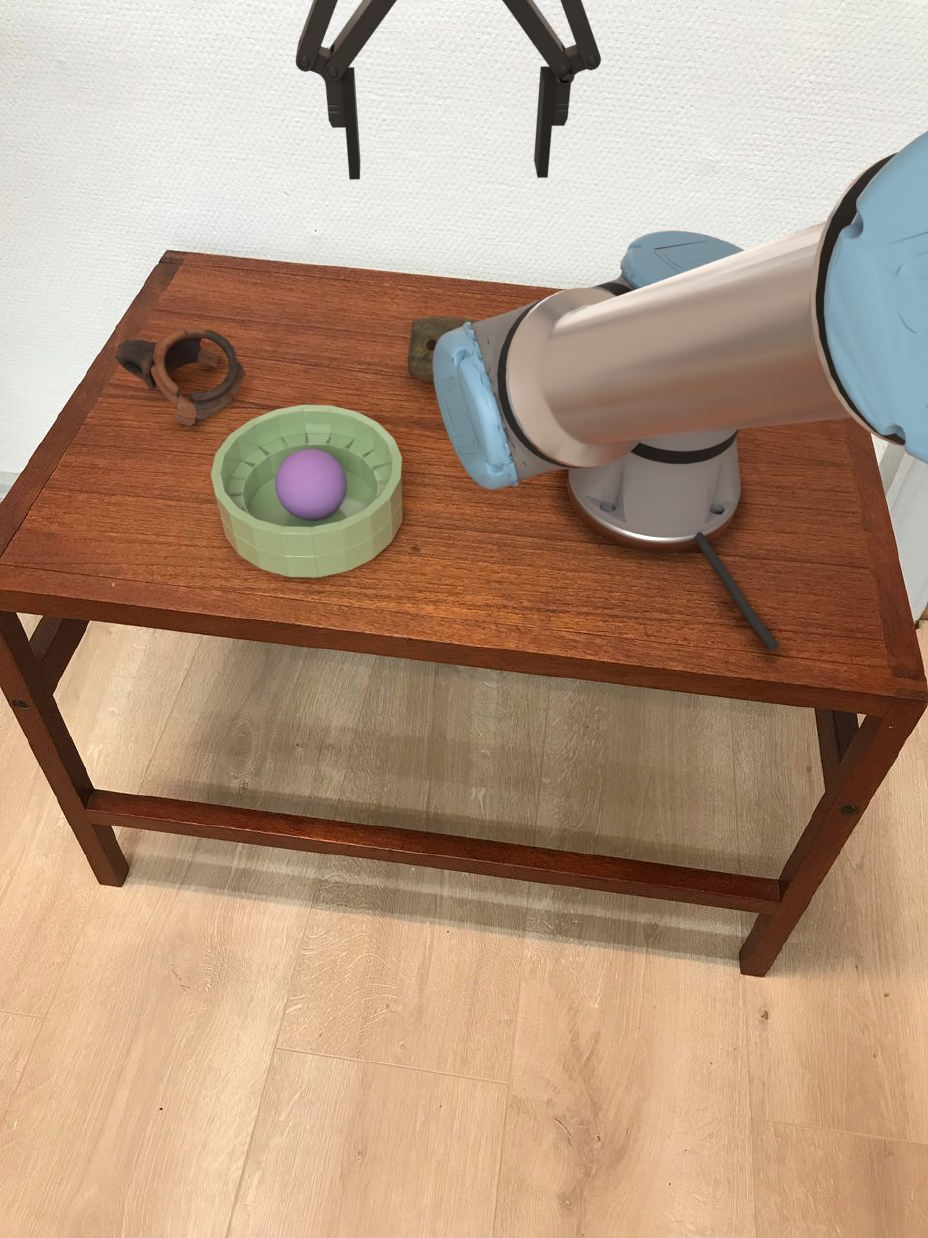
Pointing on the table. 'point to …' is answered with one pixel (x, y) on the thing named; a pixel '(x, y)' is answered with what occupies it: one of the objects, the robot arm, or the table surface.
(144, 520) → the table surface
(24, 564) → the table surface
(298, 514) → the ball
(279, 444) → the bowl
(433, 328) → the stone weight
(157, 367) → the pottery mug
